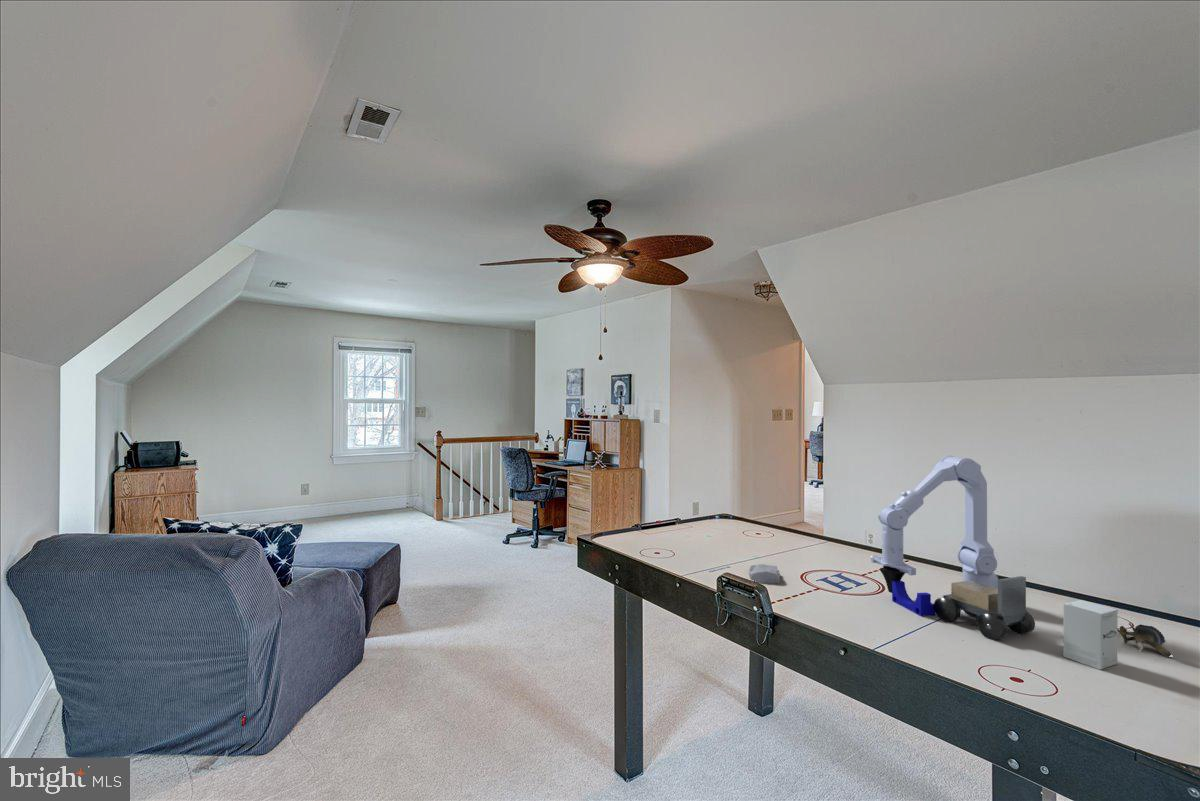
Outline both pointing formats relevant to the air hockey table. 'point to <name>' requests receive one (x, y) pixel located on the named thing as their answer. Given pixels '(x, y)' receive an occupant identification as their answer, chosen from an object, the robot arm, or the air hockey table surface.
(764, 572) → the stone block
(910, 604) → the cable clip
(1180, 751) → the air hockey table surface
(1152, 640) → the brown animal figurine
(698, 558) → the air hockey table surface
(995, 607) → the trolley
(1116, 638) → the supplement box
